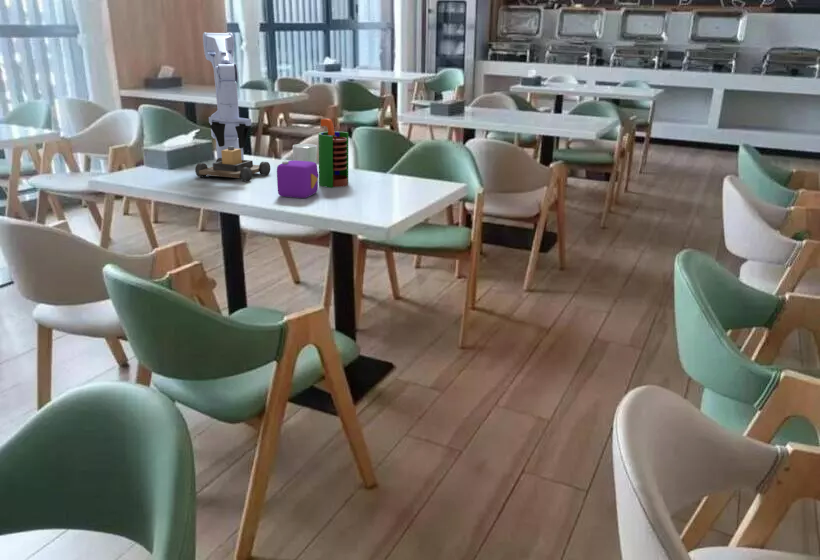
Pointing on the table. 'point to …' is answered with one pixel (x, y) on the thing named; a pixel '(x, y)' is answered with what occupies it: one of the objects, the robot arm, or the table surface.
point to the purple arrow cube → (297, 179)
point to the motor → (333, 156)
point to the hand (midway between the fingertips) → (231, 147)
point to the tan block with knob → (231, 156)
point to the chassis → (233, 169)
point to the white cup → (305, 152)
